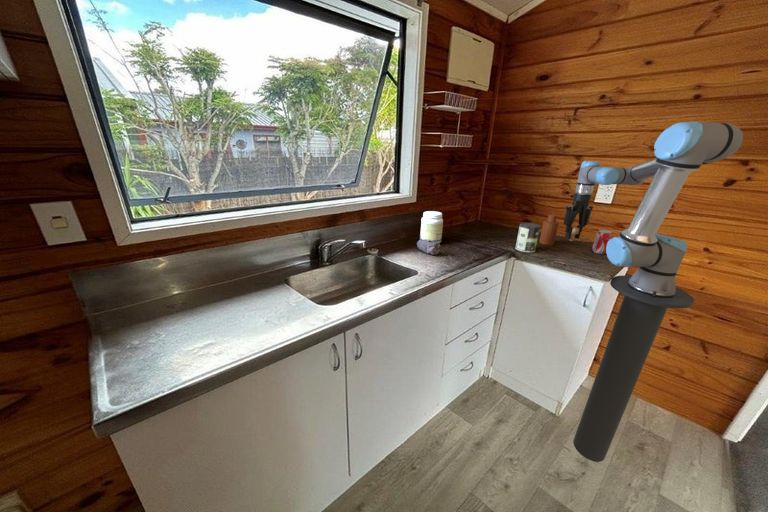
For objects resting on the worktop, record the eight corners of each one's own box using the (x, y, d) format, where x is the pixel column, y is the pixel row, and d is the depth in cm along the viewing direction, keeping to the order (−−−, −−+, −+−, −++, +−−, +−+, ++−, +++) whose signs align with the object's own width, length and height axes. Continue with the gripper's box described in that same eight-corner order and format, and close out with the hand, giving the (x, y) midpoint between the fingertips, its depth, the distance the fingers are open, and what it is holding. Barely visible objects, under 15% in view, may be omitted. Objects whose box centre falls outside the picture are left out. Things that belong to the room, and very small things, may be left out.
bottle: (550, 246, 174) (557, 217, 168) (536, 242, 179) (542, 214, 173) (556, 243, 178) (562, 215, 172) (542, 240, 184) (548, 212, 178)
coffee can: (536, 248, 168) (541, 224, 163) (534, 254, 160) (539, 228, 155) (516, 245, 173) (521, 221, 168) (513, 250, 165) (518, 225, 160)
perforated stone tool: (413, 249, 163) (414, 236, 160) (420, 247, 165) (421, 235, 163) (433, 257, 151) (434, 244, 149) (440, 255, 154) (442, 242, 152)
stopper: (574, 242, 157) (577, 229, 154) (564, 240, 160) (568, 227, 158) (577, 240, 160) (581, 227, 157) (568, 238, 163) (571, 226, 160)
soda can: (588, 250, 169) (594, 229, 164) (601, 250, 169) (607, 229, 164) (596, 254, 162) (602, 233, 158) (609, 255, 162) (616, 233, 158)
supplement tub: (445, 242, 175) (448, 213, 169) (431, 246, 167) (433, 216, 161) (429, 237, 183) (431, 209, 177) (415, 240, 176) (417, 212, 170)
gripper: (593, 192, 156) (581, 235, 164) (562, 192, 153) (551, 236, 162) (604, 194, 149) (592, 240, 157) (572, 194, 146) (561, 240, 155)
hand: (571, 238), depth 159 cm, fingers closed on stopper, 5 cm apart
